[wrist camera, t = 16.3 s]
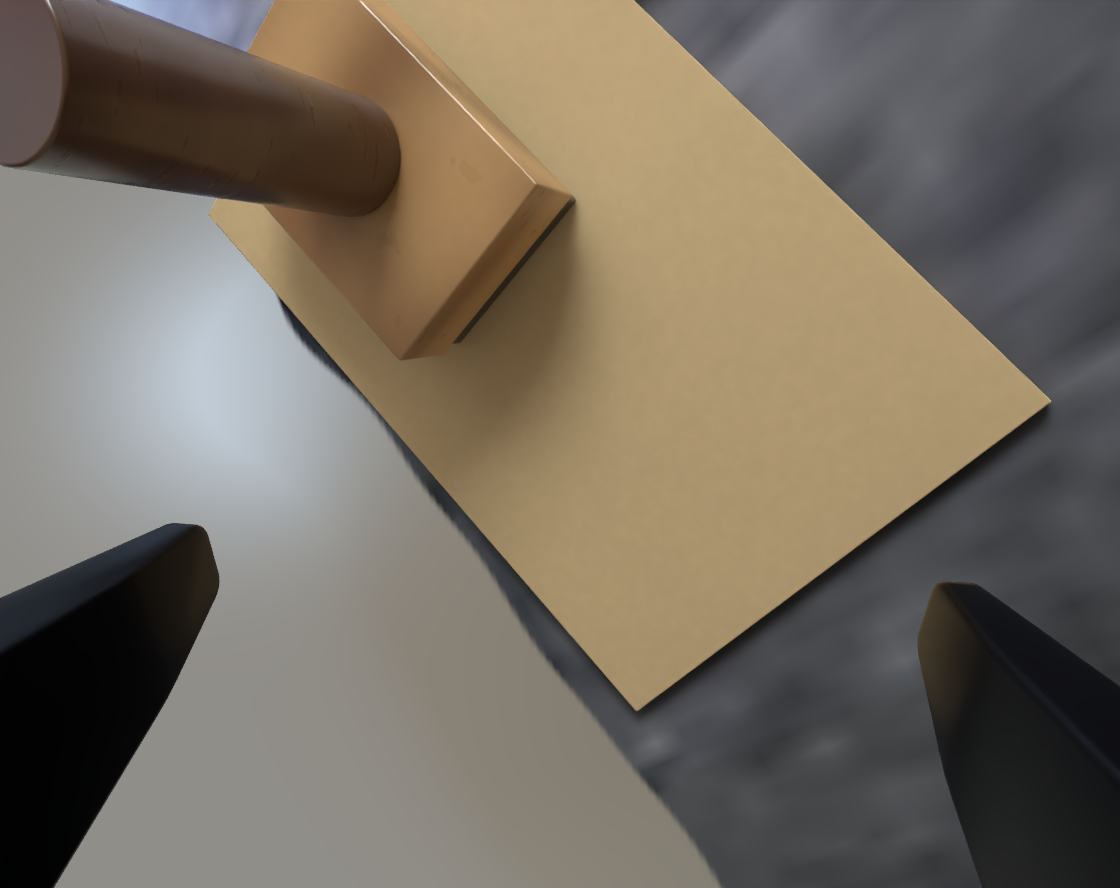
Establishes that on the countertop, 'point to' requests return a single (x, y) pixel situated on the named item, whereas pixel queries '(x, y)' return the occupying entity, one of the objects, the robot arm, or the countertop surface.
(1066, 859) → the robot arm
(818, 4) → the countertop surface
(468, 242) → the wooden rubber stamp
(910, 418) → the cork mat
